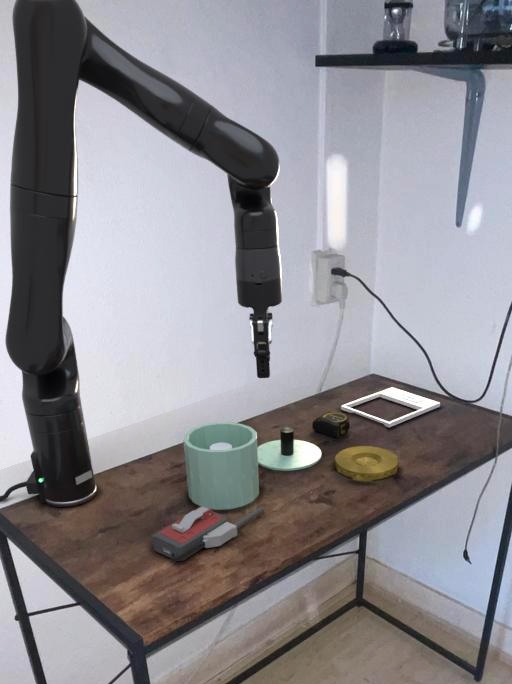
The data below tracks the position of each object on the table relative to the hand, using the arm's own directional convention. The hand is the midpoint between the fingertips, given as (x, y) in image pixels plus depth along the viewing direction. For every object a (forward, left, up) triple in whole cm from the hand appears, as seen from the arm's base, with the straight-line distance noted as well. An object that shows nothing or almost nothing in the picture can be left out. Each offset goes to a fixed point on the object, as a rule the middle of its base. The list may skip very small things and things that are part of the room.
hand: (263, 369), depth 122 cm
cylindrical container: (-8, -8, -20) cm, 23 cm away
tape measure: (+14, +17, -21) cm, 30 cm away
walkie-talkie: (-10, -22, -21) cm, 32 cm away
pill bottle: (-8, -8, -20) cm, 23 cm away
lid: (+4, +6, -20) cm, 21 cm away
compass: (+19, 0, -21) cm, 28 cm away
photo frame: (+29, +31, -21) cm, 47 cm away
